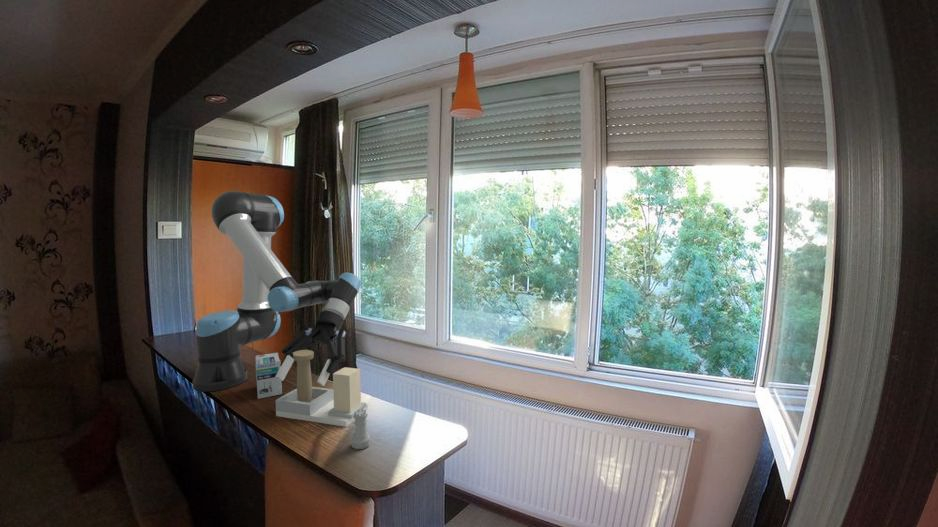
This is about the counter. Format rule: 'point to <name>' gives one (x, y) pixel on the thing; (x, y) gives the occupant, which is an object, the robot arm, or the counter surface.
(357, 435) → the rook chess piece
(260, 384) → the light bulb box
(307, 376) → the beige tall capped post
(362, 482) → the counter surface
